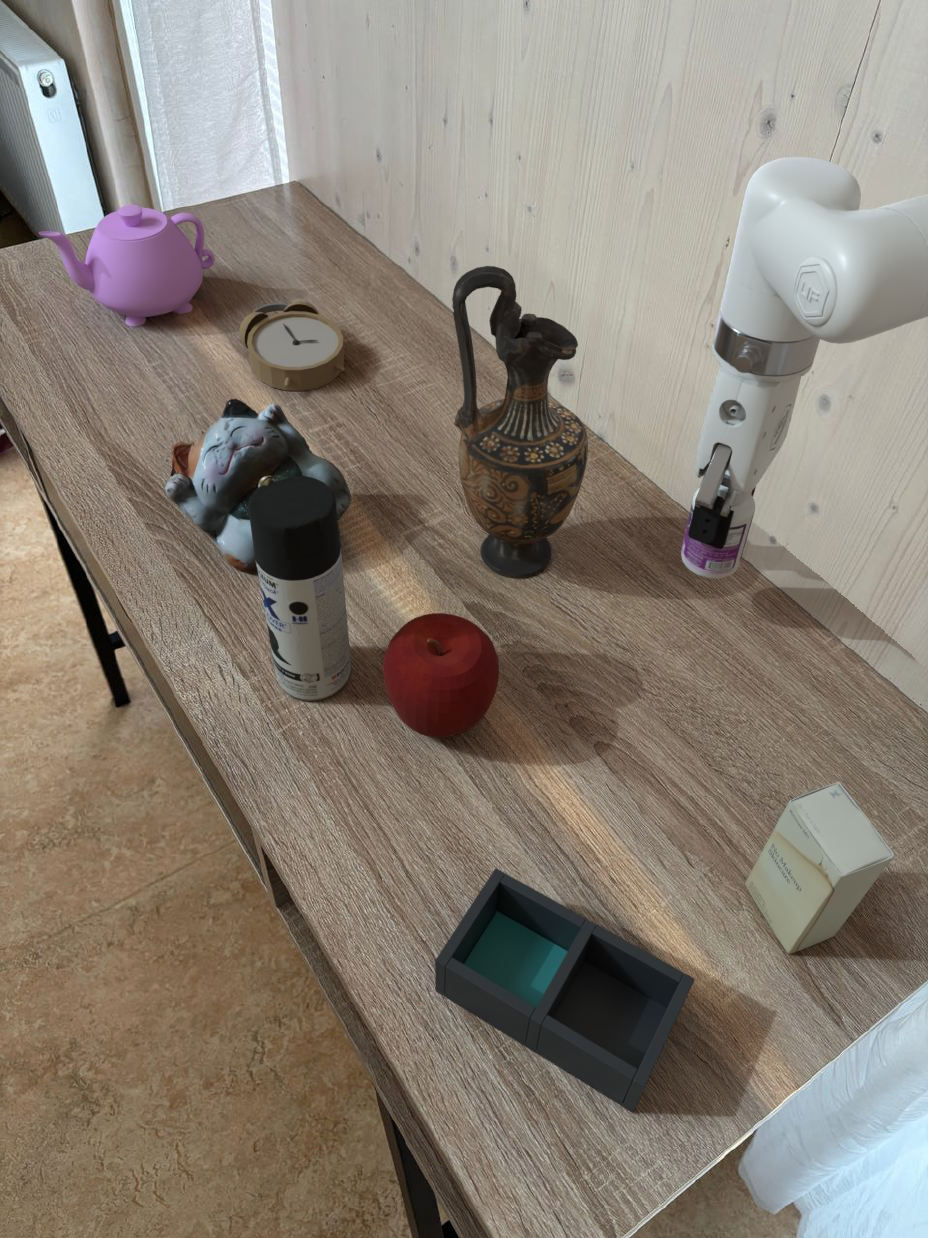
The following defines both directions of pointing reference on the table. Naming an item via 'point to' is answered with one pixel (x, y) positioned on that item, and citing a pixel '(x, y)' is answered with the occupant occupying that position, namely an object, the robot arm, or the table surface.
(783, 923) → the cosmetic box
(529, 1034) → the holder
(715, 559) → the pill bottle
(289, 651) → the spray can
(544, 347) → the vase
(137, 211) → the teapot
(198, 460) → the lucky cat figurine
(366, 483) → the table surface
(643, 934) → the table surface
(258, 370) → the alarm clock
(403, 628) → the apple
